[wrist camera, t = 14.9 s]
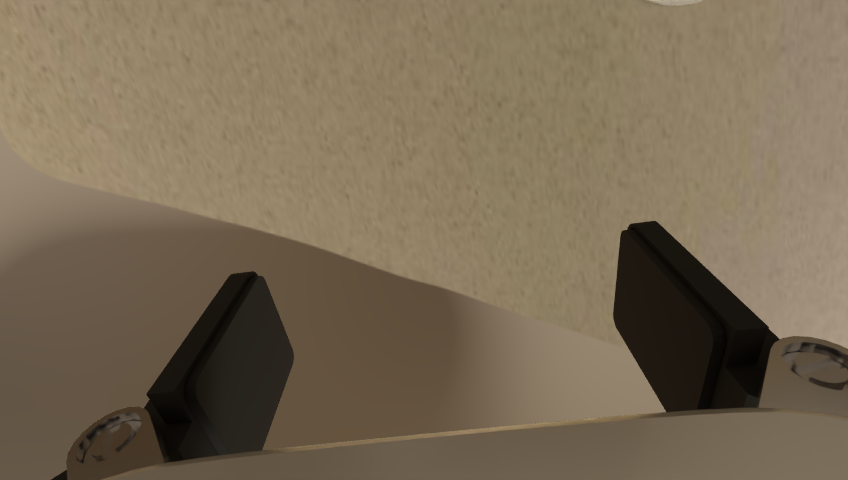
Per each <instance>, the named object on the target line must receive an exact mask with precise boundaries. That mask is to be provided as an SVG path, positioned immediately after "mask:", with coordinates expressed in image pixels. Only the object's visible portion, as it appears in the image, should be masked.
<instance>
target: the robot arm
mask: <svg viewBox="0 0 848 480" xmlns="http://www.w3.org/2000/svg"><path fill="white" fill-rule="evenodd" d="M645 1H648V2H650V3H654V4H660V5H666V6H668V5H677V6H680V5H686V4H693V3H697V2H700V1H703V0H645ZM613 317H614V323H615V326H616V328H617V330H618V331H619V333H620V335H621V336H622V338H623V340H624V341H625V343H626V345H627V346H628V348H629V350H630V351H631V353H632V355H633V357H634V358H635V360H636V362H637V363H638V365H639V367H640V368H641V370H642V372H643V373H644V375H645V377H646V378H647V380H648V382H649V383H650V385H651V387H652V388H653V390H654V392H655V394H656V395H657V397H658V399H659V400H660V402H661V404H662V405H663V407H664V409H665V410H666V412H663V413H651V414H638V415H624V416H613V417H602V418H591V419H581V420H569V421H558V422H548V423H537V424H526V425H514V426H503V427H493V428H483V429H472V430H462V431H452V432H441V433H430V434H421V435H410V436H400V437H391V438H390V437H389V438H379V439H370V440H359V441H350V442H340V443H330V444H320V445H311V446H301V447H291V448H282V449H272V450H262V449H263V446H264V443H265V440H266V438H267V435H268V432H269V429H270V426H271V423H272V421H273V418H274V415H275V412H276V410H277V407H278V404H279V401H280V398H281V396H282V393H283V390H284V387H285V384H286V382H287V378H288V376H289V373H290V370H291V368H292V365H293V360H294V354H293V349H292V347H291V344H290V342H289V339H288V336H287V334H286V332H285V329H284V326H283V324H282V321H281V319H280V316H279V314H278V312H277V309H276V307H275V304H274V301H273V299H272V296H271V294H270V291H269V289H268V286H267V283H266V281H265V279H264V278H263V277H262V276H258V275H257V274H256V273H255V272H253V271H252V272H244V273H236V274H231V275H230V276H229V277H228V279H227V280H226V281H225V283H224V284H223V286H222V287H221V289H220V290H219V292H218V293H217V294H216V296H215V297H214V299H213V300H212V301H211V303H210V304H209V306H208V307H207V309H206V310H205V311H204V313H203V314H202V316H201V317H200V318H199V320H198V321H197V323H196V324H195V326H194V327H193V329H192V330H191V331H190V333H189V334H188V336H187V337H186V338H185V340H184V341H183V343H182V344H181V346H180V347H179V349H178V350H177V351H176V353H175V354H174V356H173V357H172V358H171V360H170V361H169V363H168V364H167V366H166V367H165V368H164V370H163V371H162V373H161V374H160V376H159V377H158V378H157V380H156V381H155V383H154V384H153V386H152V387H151V388H150V390H149V391H148V393H147V396H148V397H149V399H150V400H149V401H148V403H147V404H146V406H145V407H144V408H142V407H139V406H136V407H126V408H122V409H119V410H116V411H114V412H112V413H110V414H107V415H105V416H104V417H102V418H101V419H99V420H97V421H96V422H94V423H93V424H92V425H91V426H89V427H88V428H87V429H86V430H85V431H83V432H82V433H81V435H80V436H79V437H78V438H77V439H76V440H75V441H74V443H73V444H72V446H71V448H70V450H69V452H68V454H67V460H66V467H67V470H66V471H64V472H63V473H61V474H59V475H58V476H56V477H54V478H53V479H52V480H848V349H846V348H844V347H842V346H840V345H837V344H834V343H831V342H829V341H826V340H822V339H817V338H812V337H800V336H793V337H787V338H782V339H779V338H778V337H777V336H776V335H775V334H774V333H772V332H771V331H770V330H769V329H768V328H769V327H768V326H767V325H766V324H765V323H764V322H763V321H762V320H761V319H760V318H758V317H757V316H756V315H755V314H754V313H753V312H752V311H751V310H750V309H749V308H748V307H747V306H746V305H745V304H744V303H743V302H741V301H740V300H739V299H738V298H737V297H736V296H735V295H734V294H733V293H732V292H731V291H730V290H729V289H728V288H727V287H726V286H724V285H723V284H722V283H721V282H720V281H719V280H718V279H717V278H716V277H715V276H714V275H713V274H712V273H711V272H710V271H709V270H708V269H706V268H705V267H704V266H703V265H702V264H701V263H700V262H699V261H698V260H697V259H696V258H695V257H694V256H693V255H692V254H691V253H689V252H688V251H687V250H686V249H685V248H684V247H683V246H682V245H681V244H680V243H679V242H678V241H677V240H676V239H675V238H674V237H672V236H671V235H670V234H669V233H668V232H667V231H666V230H665V229H664V228H663V227H662V226H661V225H660V224H659V223H657V222H656V221H650V222H642V223H634V224H630V225H629V227H628V229H627V230H623V231H622V233H621V237H620V248H619V258H618V269H617V280H616V290H615V301H614V312H613Z"/></svg>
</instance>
